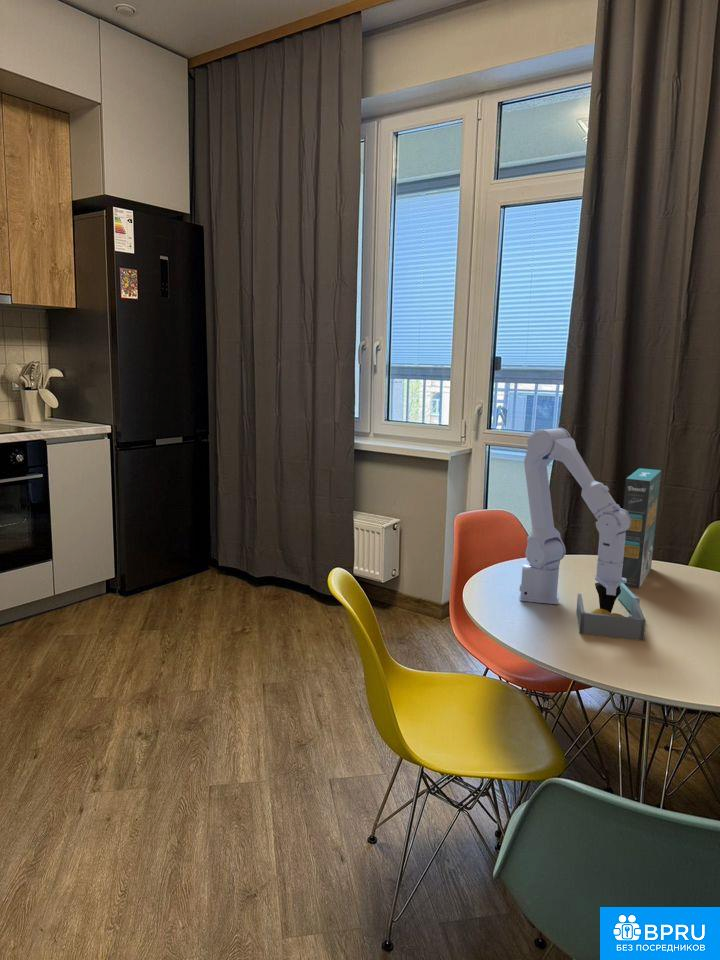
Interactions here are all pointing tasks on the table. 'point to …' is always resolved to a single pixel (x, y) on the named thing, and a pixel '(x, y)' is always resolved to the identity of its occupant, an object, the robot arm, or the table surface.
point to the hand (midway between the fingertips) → (605, 614)
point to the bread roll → (605, 612)
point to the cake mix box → (640, 524)
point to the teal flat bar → (627, 597)
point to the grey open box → (611, 623)
